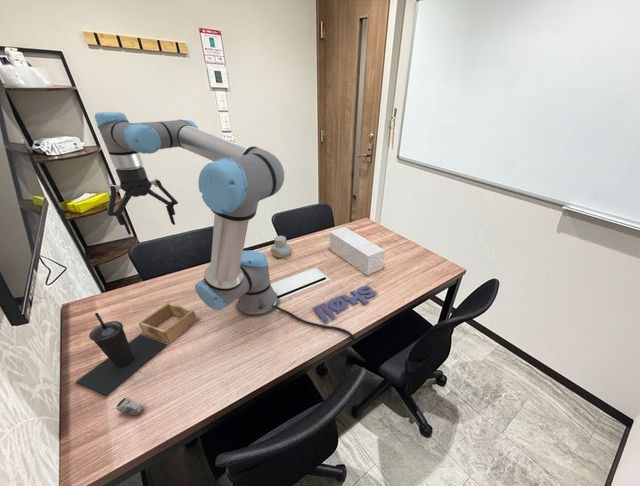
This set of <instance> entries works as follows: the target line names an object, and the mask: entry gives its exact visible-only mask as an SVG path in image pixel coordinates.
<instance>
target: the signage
mask: <svg viewBox="0 0 640 486" xmlns="http://www.w3.org/2000/svg"><path fill="white" fill-rule="evenodd" d="M351 294H352V295H353V296H352V297H350V296H348V295H346V294H345V295H341V297H339V296H337V297H336V298H332V299H331V300H330V301H329V302H328V305H326V303H322V304H320V305H319V307H318V306H314V307H312V310H313V311H314V312H315V313H316V315H318V317H319V318H320V319H321V321H322V322H323V323H326V322H328V320H329V318H330V319H331V320H333V319H334V318H335V317H336V315H335V314H334V313H333V312H336V314H339V313H340V312H342V311H344V310H346V309H347V307H348V302H350V304H351V305H352V306H354V305H356V304H358V301H360V302H361V303H362V304H363V305H366V304H368V299H369V300H370V299H372V298H373V297H375V295H376V291H375V290H373V289H370V287H369V286H368V285H365V286H361V287H360V288H358V290H357V291H356V290H353V291H351ZM363 296H364V297H363ZM335 305H336V306H335ZM320 308H321V309H322V310H323V311H324V312H325V313H324V312H323V311H322V310H321V309H320ZM326 315H327V316H328V317H329V318H328V317H327V316H326Z"/></svg>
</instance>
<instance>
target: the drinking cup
mask: <svg viewBox="0 0 640 486" xmlns="http://www.w3.org/2000/svg"><path fill="white" fill-rule="evenodd" d="M94 315H95V318H96V319H97V320H98V322H99V325H97V326H96V327H94V328H93V329H92V330H91V331H90V332H89V339H90V340H91V341H92V342H94V343H95V344H96V346H97V347H98V349H100V350H101V352H103V354H105V356H106V357H107V359H108V358H109V359H110V360H111V361H112V363H113V364H114V365H115V366H116V367H118V368H121V367H125V366H127V365H129V364H130V363H131V362H132V361H133V360H134V357H133V354H132V351H131V349H130V346H129V343H130V342H129V341H128V338H127V335H126V333H125V330H124V324H123V323H122V322H120V321H117V320H112V321H107V322H104V321H103V319H102V317H101V316H100V314H99V313H98V312H95V313H94Z"/></svg>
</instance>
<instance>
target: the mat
mask: <svg viewBox="0 0 640 486" xmlns="http://www.w3.org/2000/svg"><path fill="white" fill-rule="evenodd" d="M128 343H129V346H130V349H131V351H132V354H133V357H134V360H133V361H132V362H131V363H130V364H129V365H127V366H125V367H121V368H118V367H116V366H115V365H114V364H113V363H112V361H111V360H110V359H109V358H108V357H107V358H106V359H105V360H103V362H101V363H99V364H98V365H97V366H95V367H94V368H93V369H92V370H90V371H89V372H87V373H86V374H84V375H83V376H82V377H80V378H79V379H78V380H76V384H78V385H81V386H83V387H85V388H88V389H90V390H92V391H94V392H97V393H99V394H101V395H104V396H106V397H107V396H109V395H110V394H111V393H112V392H113V391H115V390H116V389H117V388H118V387H119V386H121V385H122V384H123V383H124V382H126V380H128V379H129V378H130V377H132V376H133V375H135V373H136V372H138V371H139V370H140V369H141V368H142V367H143V366H145V365H146V364H147V363H148V362H150V361H151V360H152V359H153V358H154V357H155V356H156V355H158V354H159V353H160V352H161V351H163V350H164V349H165V348H166V347H168V344H167V343H166V342H162V341H161V340H160V341H159V340H158V339H157V340H156V339H154V338H152V337H148V336H145V335H143V334H139V335H137V336H136V337H135V338H133V339H132V340H131V341H130V342H128Z"/></svg>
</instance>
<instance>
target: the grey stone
mask: <svg viewBox="0 0 640 486" xmlns="http://www.w3.org/2000/svg"><path fill="white" fill-rule="evenodd" d="M143 408H144V406H143V405H142V404H140V403H139V402H136V401H135V400H133V399H132V398H130V397H129V396H126V397H123V398H122V399H121V400H120V401H119V402H118V403H117V404H116V406H115V409H116V411H118V412H120V413H121V414H123V415H124V414H125V415H128V416H137V415H139V414H140V413H141V412H142V410H143Z"/></svg>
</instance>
